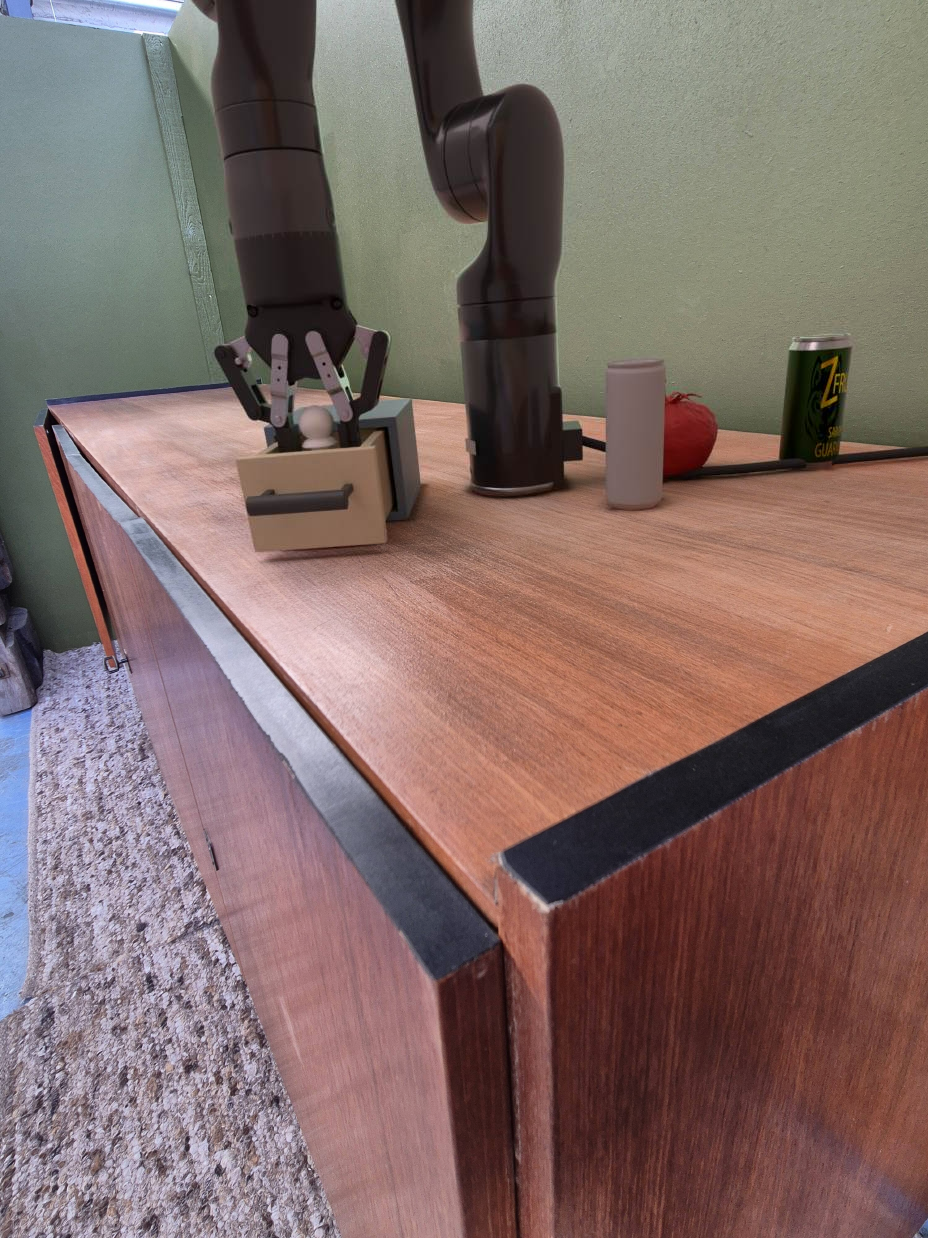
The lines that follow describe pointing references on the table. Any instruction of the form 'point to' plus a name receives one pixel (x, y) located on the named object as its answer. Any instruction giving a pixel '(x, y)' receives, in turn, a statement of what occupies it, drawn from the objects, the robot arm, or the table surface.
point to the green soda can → (815, 399)
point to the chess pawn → (317, 427)
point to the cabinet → (401, 448)
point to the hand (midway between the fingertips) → (323, 468)
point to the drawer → (319, 494)
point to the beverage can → (635, 432)
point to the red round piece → (686, 434)
